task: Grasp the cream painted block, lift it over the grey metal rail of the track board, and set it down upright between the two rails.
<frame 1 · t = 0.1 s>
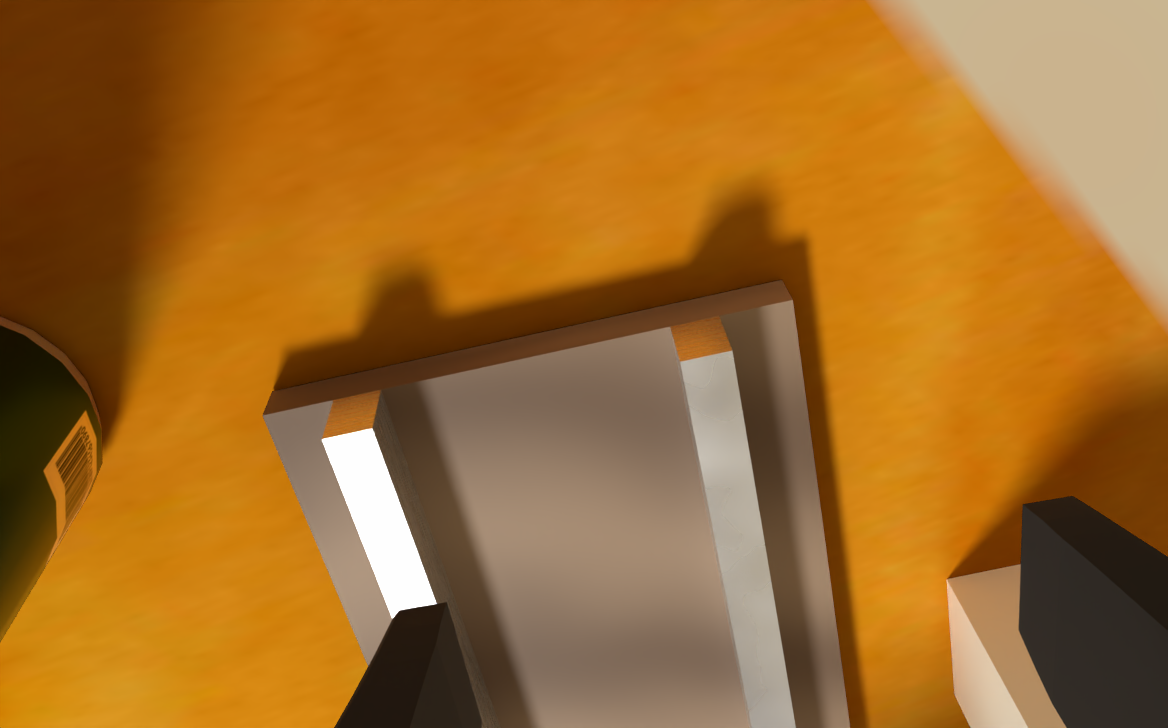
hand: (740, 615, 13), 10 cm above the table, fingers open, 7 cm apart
cream block: (1028, 622, 27), on the table
track: (609, 649, 27), on the table
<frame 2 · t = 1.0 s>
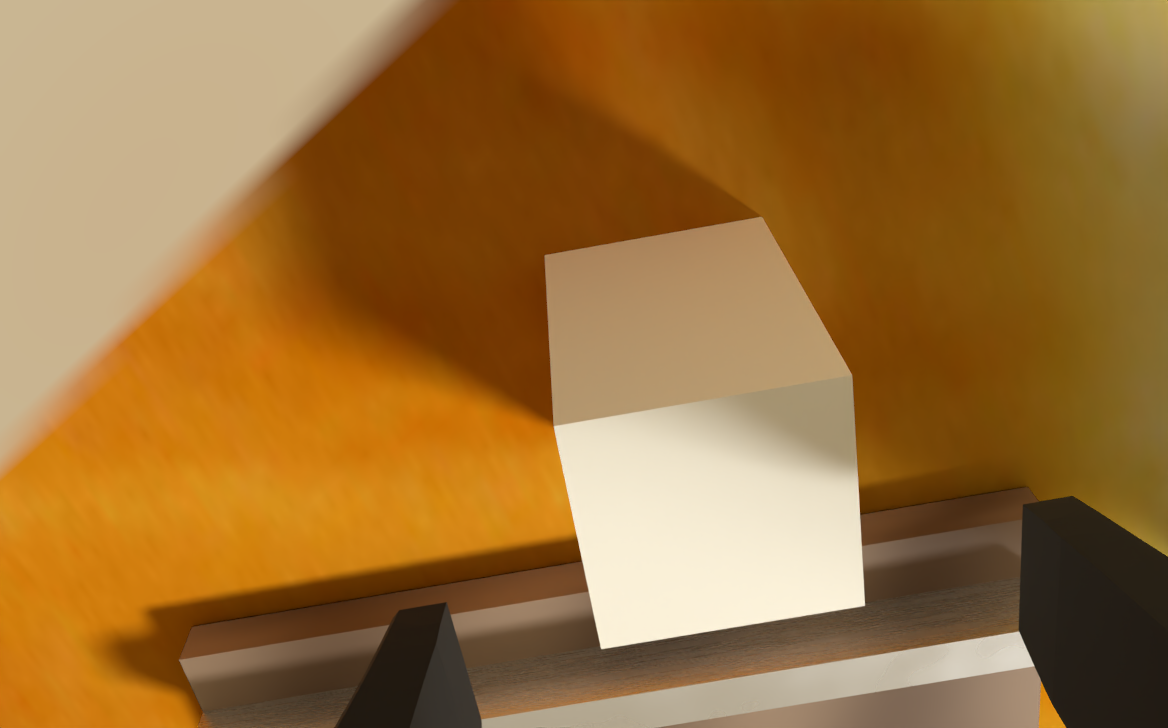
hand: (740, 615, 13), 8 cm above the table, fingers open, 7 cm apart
cream block: (666, 332, 20), on the table
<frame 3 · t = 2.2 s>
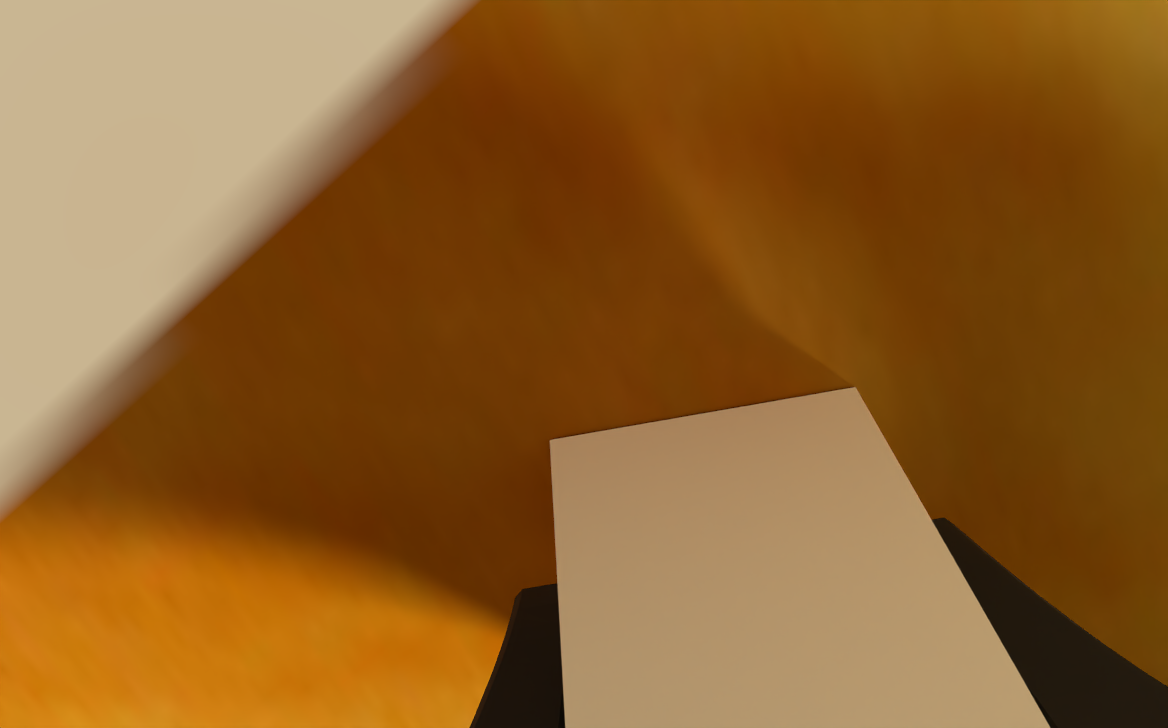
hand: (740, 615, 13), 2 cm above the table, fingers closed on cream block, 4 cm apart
cream block: (718, 535, 15), on the table, touching gripper
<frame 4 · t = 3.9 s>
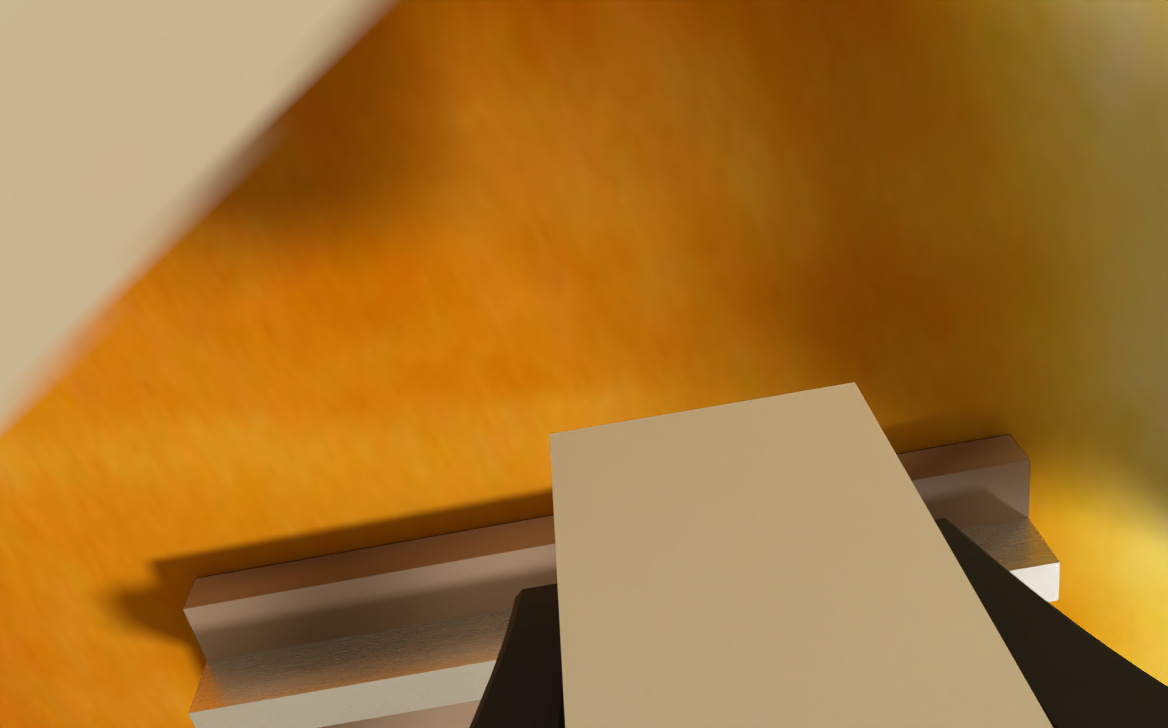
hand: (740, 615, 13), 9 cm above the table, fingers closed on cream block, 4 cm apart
cream block: (717, 530, 15), point 7 cm above the table, touching gripper
track: (635, 690, 26), on the table
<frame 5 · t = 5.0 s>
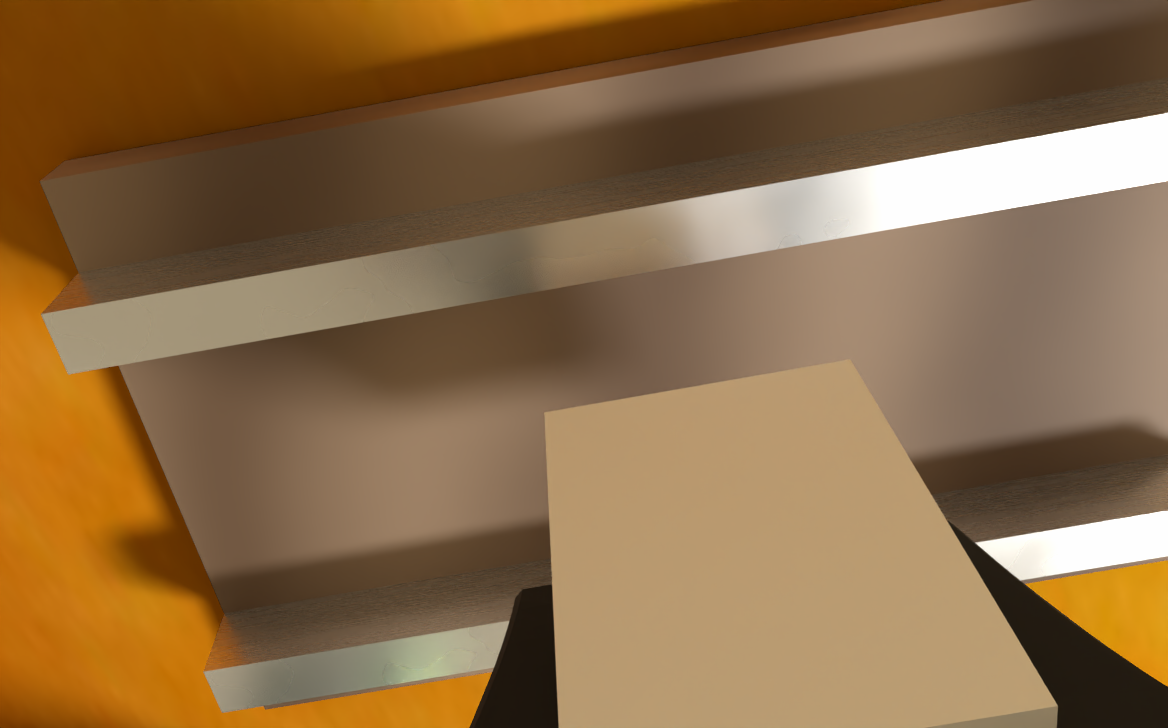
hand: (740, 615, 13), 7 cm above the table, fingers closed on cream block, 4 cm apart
cream block: (713, 510, 15), point 5 cm above the table, touching gripper
track: (674, 365, 19), on the table
when the fingers open (4 cm above the table, at t = 5.9 s): cream block stays where it is, resting on track.
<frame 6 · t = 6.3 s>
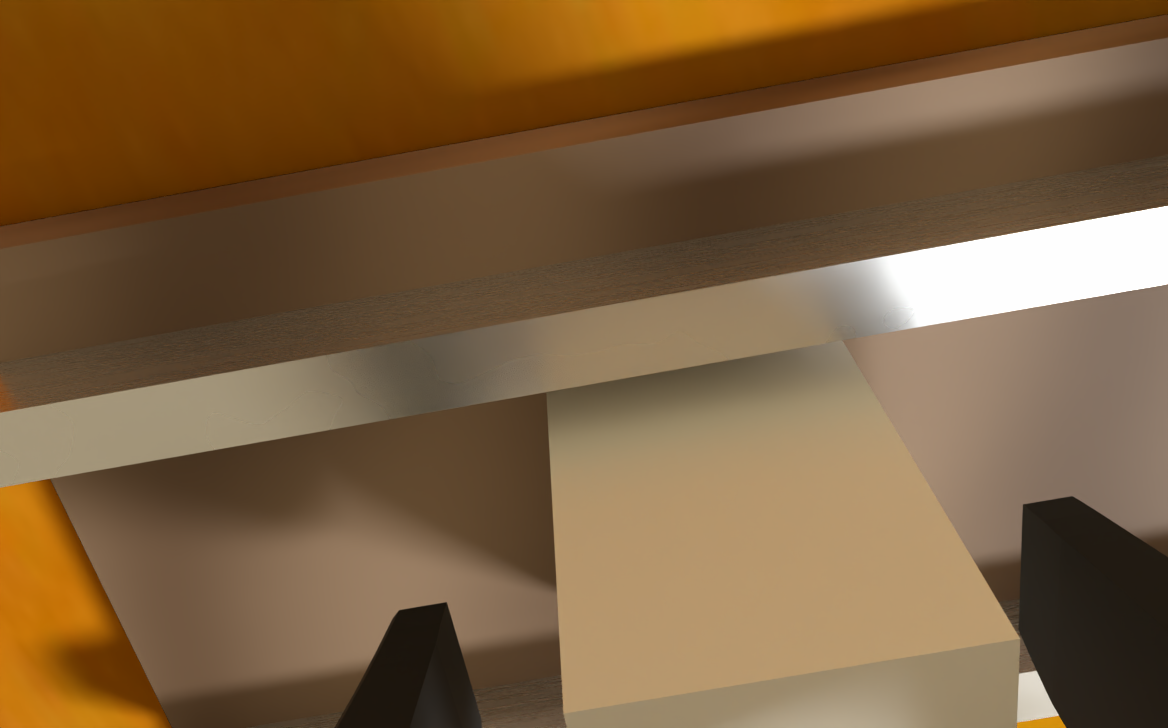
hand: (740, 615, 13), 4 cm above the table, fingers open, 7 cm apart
cream block: (706, 476, 16), point 1 cm above the table, touching track
track: (697, 457, 17), on the table
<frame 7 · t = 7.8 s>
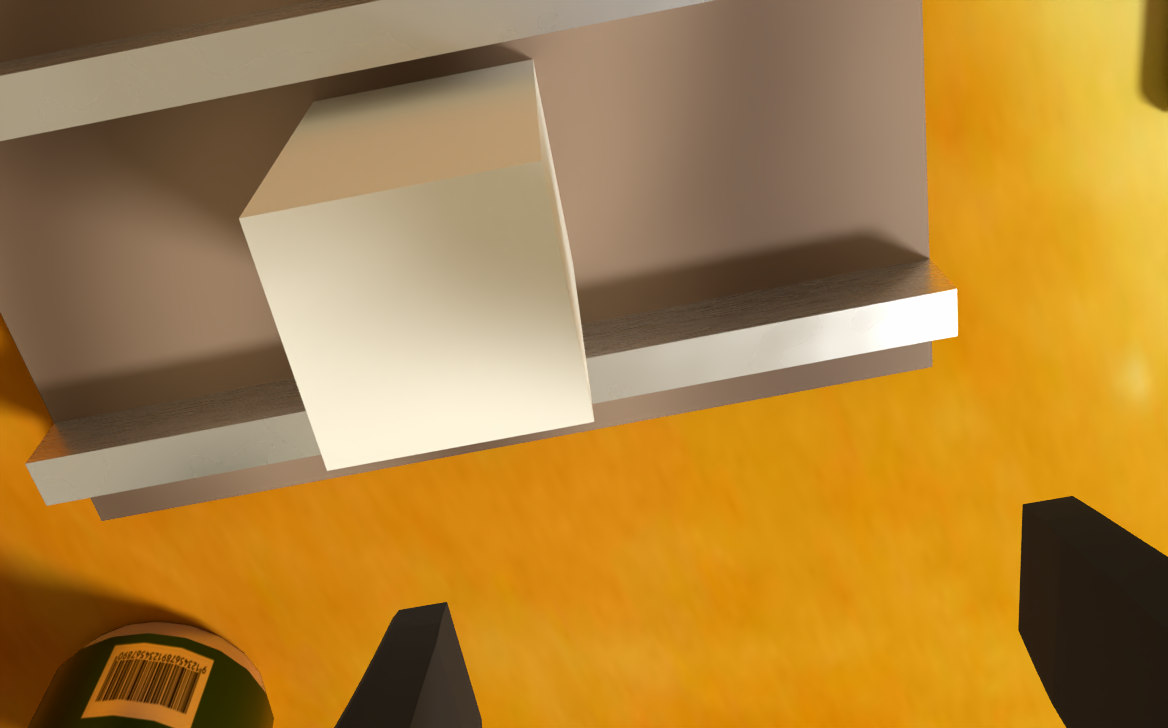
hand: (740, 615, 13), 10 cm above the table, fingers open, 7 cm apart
beer can: (171, 689, 27), on the table
cream block: (448, 186, 20), point 1 cm above the table, touching track
track: (453, 185, 21), on the table
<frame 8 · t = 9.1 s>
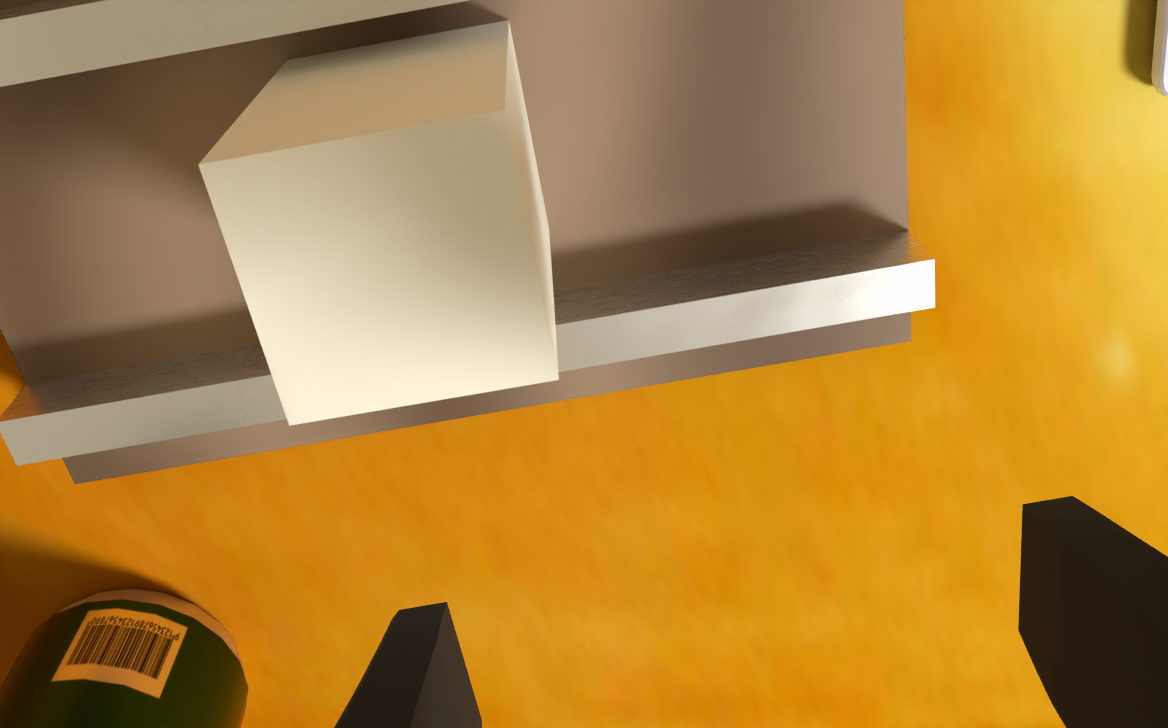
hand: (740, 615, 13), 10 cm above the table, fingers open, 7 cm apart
beer can: (147, 657, 27), on the table
cream block: (424, 148, 20), point 1 cm above the table, touching track
track: (430, 149, 21), on the table
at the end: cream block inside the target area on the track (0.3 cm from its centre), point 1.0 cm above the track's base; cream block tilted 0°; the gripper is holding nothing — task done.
